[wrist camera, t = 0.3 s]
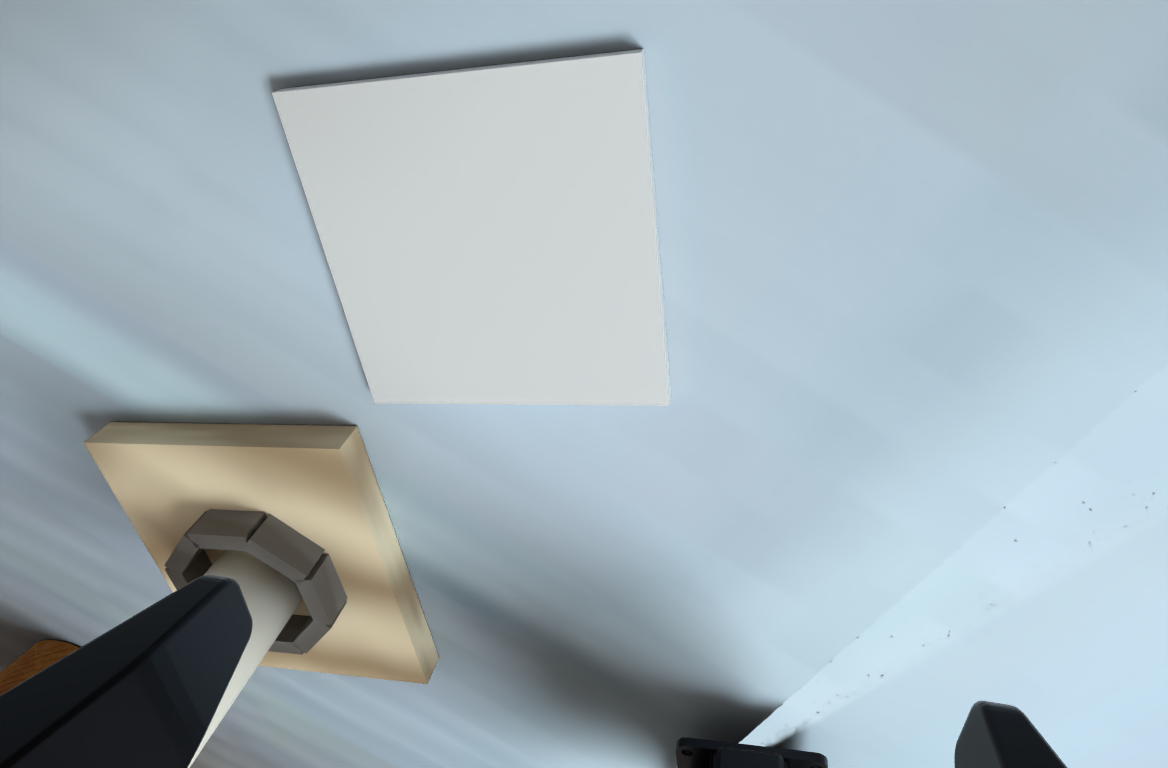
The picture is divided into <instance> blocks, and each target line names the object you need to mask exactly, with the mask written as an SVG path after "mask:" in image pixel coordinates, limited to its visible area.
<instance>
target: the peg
mask: <svg viewBox="0 0 1168 768" xmlns="http://www.w3.org/2000/svg"><path fill="white" fill-rule="evenodd" d="M204 575H216V576H222V577H228V578H232V579H234V580H236V581H237V582H238V584H239V586H240V588H241V591H242V593H243V596H244V598H245V601H246V604H247V606H248V609H249V611H250V614H251V617H252V622H253V626H252V633H251V636H250V639H249V641H248V644H247V646H246V648H245V650H244V652H243V654H242V656H241V659H240V661H239V663H238V665H237V667H236V669H235V672H234V674H233V676H232V678H231V680H230V682H229V684H228V687H227V689H226V691H225V693H224V695H223V697H222V699H221V702H220V704H219V706H218V708H217V710H216V712H215V715H214V717H213V719H212V721H211V723H210V725H209V727H208V730H207V732H206V734H205V736H204V738H203V740H202V742H201V744H200V746H199V748H198V750H197V751H196V753H195V755H194V757H193V759H192V760H191V762H190V764H189V766H188V768H190V766H191V765H192V763H193V762H194V760H195V759H196V757H197V756H198V754H199V753H200V751H201V750H202V748H203V747H204V745H205V744H206V742H207V741H208V739H209V738H210V736H211V735H212V733H213V732H214V730H215V729H216V727H217V726H218V724H219V723H220V722H221V720H222V719H223V717H224V716H225V714H226V713H227V711H228V710H229V708H230V707H231V705H232V704H233V702H234V701H235V699H236V698H237V696H238V695H239V693H240V692H241V690H242V689H243V687H244V686H245V684H246V683H247V681H248V680H249V678H250V677H251V675H252V674H253V672H254V671H255V669H256V668H257V666H258V665H259V663H260V662H261V660H262V659H263V657H264V656H265V655H266V653H267V652H268V650H269V649H270V647H271V646H272V644H273V643H274V641H275V640H276V638H277V637H278V635H279V634H280V632H281V631H282V629H283V628H284V626H285V625H286V623H287V622H288V620H289V619H290V617H291V616H292V614H293V613H294V611H295V610H296V608H297V607H298V605H299V604H300V602H301V601H302V599H303V598H302V595H301V593H300V591H299V589H298V587H297V585H296V583H295V582H294V581H292V580H291V579H289V578H288V577H286V576H284V575H283V574H281V573H280V572H278V571H277V570H275V569H274V568H272V567H270V566H269V565H267V564H266V563H264V562H263V561H261V560H259V559H258V558H256V557H255V556H253V555H252V554H250V553H249V552H247V551H234V550H225V551H224V552H223V553H222V554H221V555H220V556H219V558H218V559H217V560H216V561H215V562H214V564H213V565H212V566H211V567H210V568H209V570H208V571H207V572H206V573H205V574H204ZM204 575H203V576H204Z"/></svg>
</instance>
